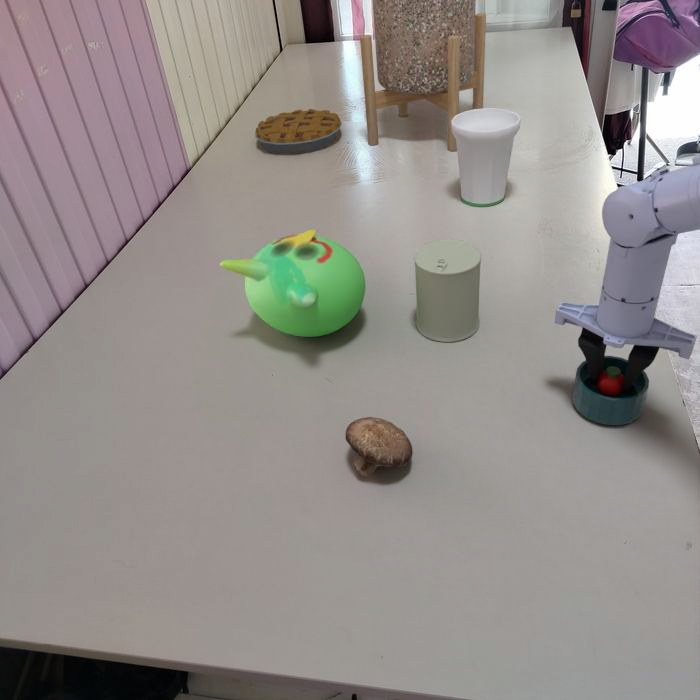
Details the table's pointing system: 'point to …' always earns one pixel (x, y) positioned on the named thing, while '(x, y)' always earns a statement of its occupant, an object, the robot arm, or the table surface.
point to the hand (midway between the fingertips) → (610, 384)
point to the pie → (298, 131)
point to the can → (447, 290)
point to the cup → (484, 153)
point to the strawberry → (610, 382)
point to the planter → (423, 57)
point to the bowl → (607, 407)
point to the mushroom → (377, 445)
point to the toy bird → (302, 284)
